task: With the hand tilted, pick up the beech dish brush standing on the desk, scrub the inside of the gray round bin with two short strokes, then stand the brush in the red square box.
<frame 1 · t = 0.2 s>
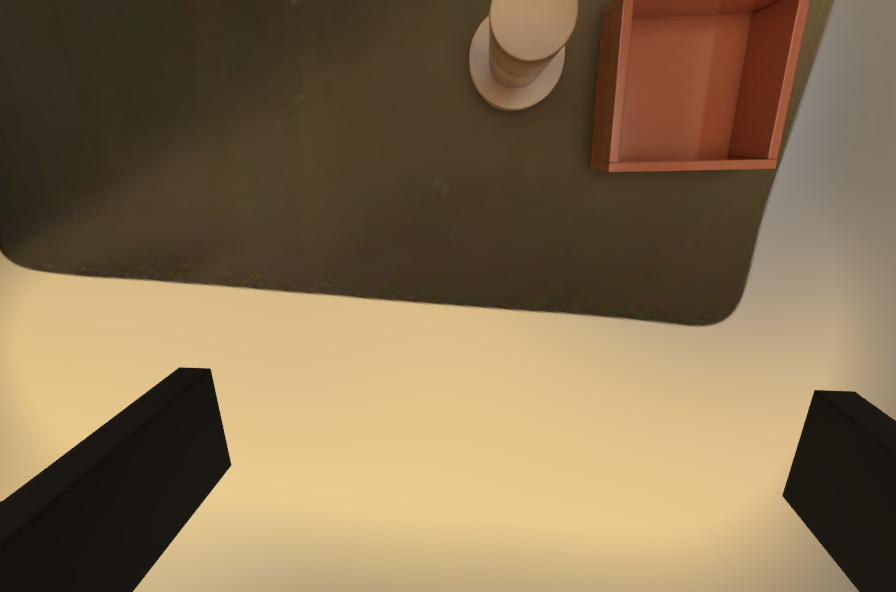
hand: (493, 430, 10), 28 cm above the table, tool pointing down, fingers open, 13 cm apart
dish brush: (513, 66, 32), on the table
red square box: (668, 91, 32), on the table
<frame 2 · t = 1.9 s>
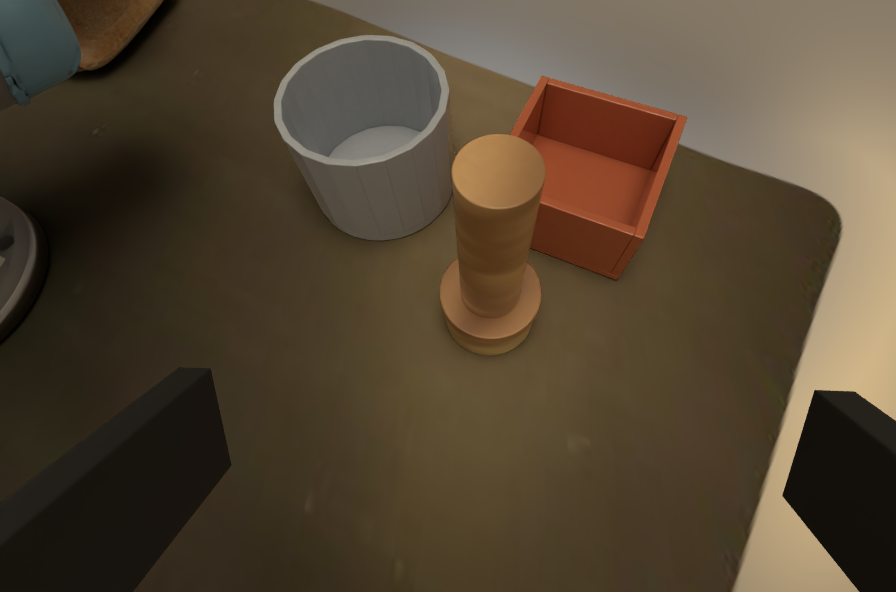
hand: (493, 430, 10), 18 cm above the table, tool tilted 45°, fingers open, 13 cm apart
gray round bin: (385, 181, 36), on the table
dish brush: (488, 313, 31), on the table
red square box: (571, 200, 34), on the table
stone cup: (123, 31, 46), on the table
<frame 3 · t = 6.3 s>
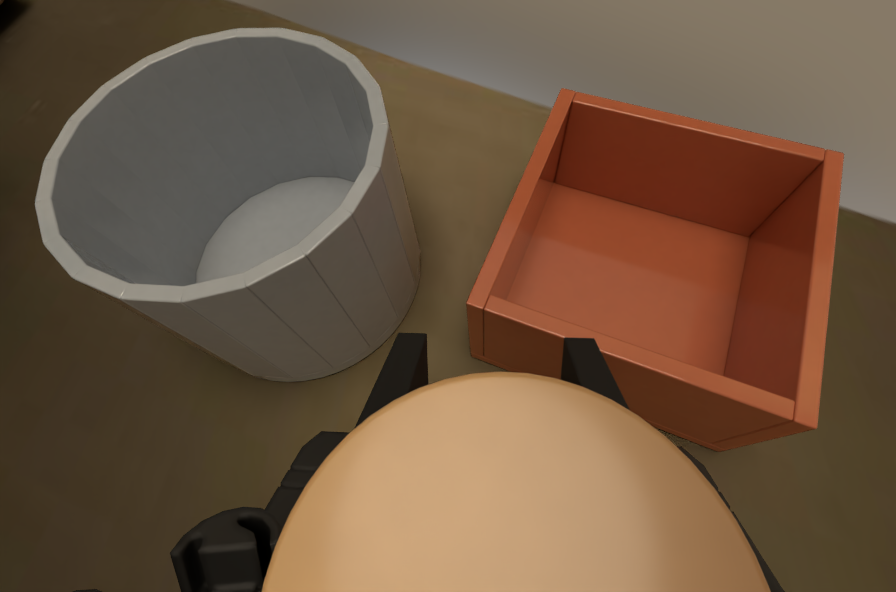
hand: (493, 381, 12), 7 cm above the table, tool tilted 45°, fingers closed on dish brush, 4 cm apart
gray round bin: (308, 270, 22), on the table
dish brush: (488, 530, 17), on the table, touching gripper
red square box: (618, 295, 20), on the table
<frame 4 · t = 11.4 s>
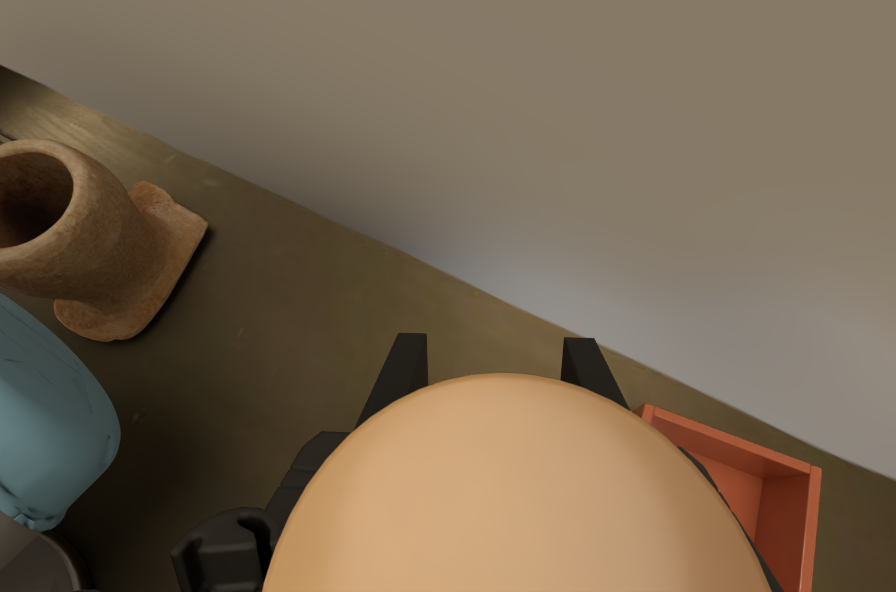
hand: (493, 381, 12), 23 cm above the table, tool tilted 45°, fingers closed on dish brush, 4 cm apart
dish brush: (488, 530, 17), point 17 cm above the table, touching gripper
red square box: (677, 517, 31), on the table
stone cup: (156, 273, 43), on the table
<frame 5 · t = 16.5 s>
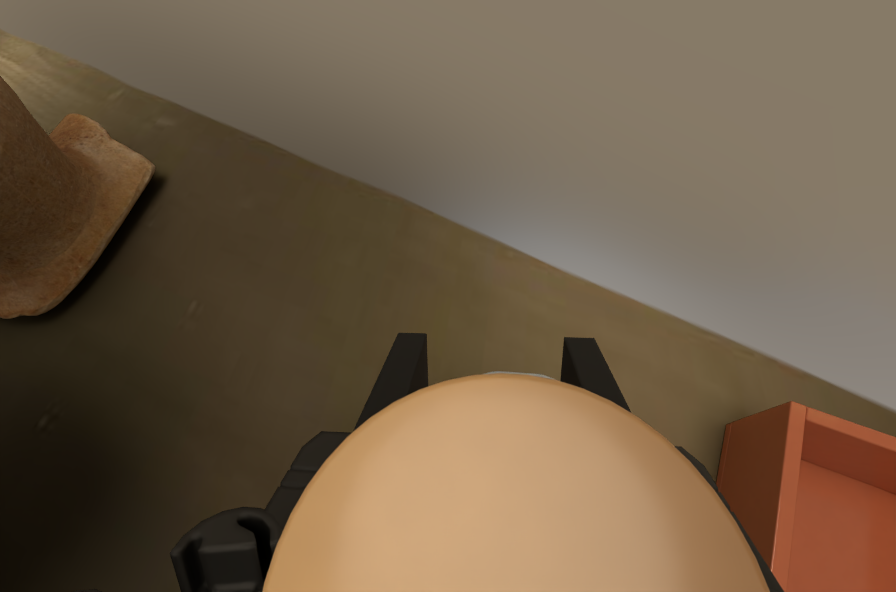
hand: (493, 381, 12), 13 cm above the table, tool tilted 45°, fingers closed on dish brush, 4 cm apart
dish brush: (488, 530, 17), point 6 cm above the table, touching gripper
red square box: (826, 573, 21), on the table
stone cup: (87, 232, 33), on the table
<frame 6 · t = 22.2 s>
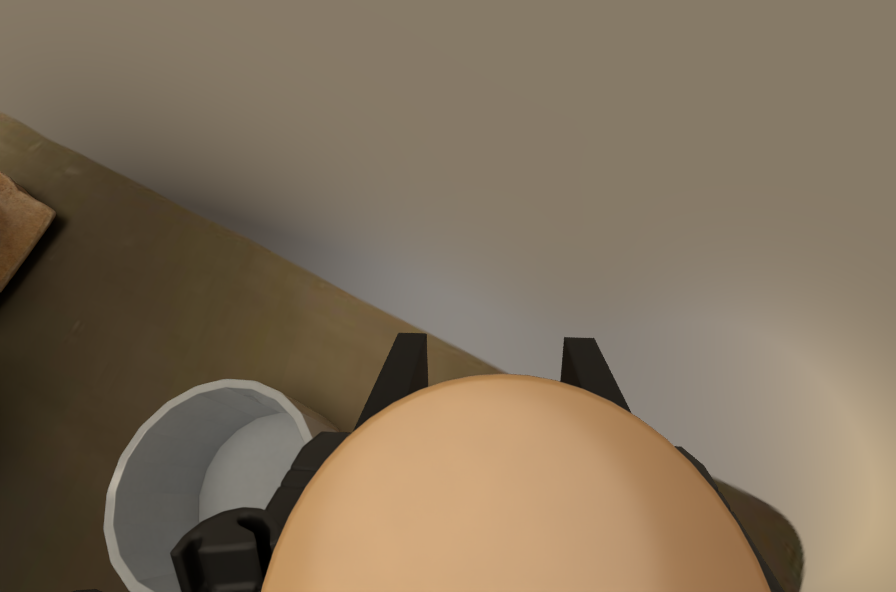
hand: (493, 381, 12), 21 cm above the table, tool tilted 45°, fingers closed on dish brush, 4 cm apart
gray round bin: (278, 489, 31), on the table
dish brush: (488, 530, 17), point 14 cm above the table, touching gripper
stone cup: (1, 264, 41), on the table
when the fingers open (7 cm above the table, at t = 27.0 s): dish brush stays where it is, resting on red square box.
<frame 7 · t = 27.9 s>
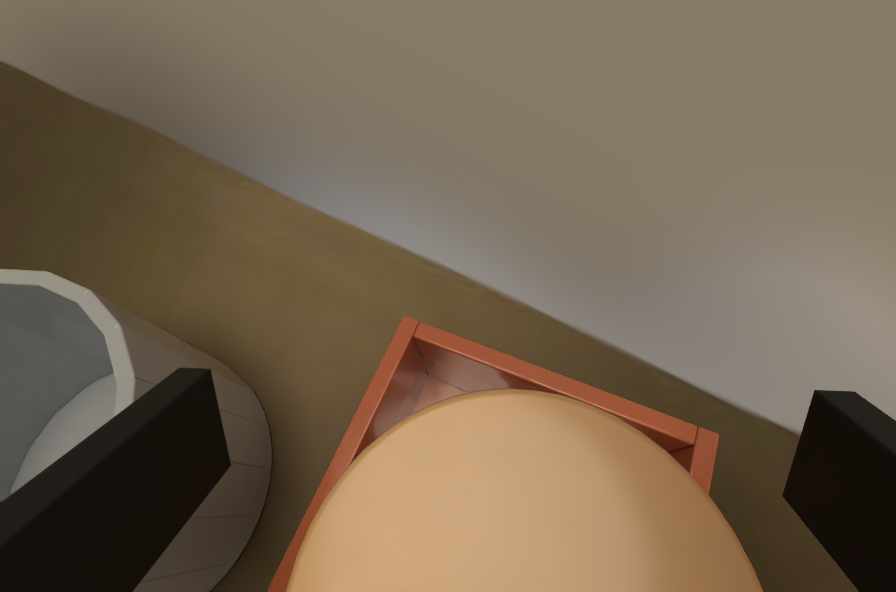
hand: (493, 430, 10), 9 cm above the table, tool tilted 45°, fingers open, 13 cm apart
gray round bin: (144, 479, 19), on the table
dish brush: (491, 532, 17), point 1 cm above the table, touching red square box
red square box: (489, 529, 17), on the table
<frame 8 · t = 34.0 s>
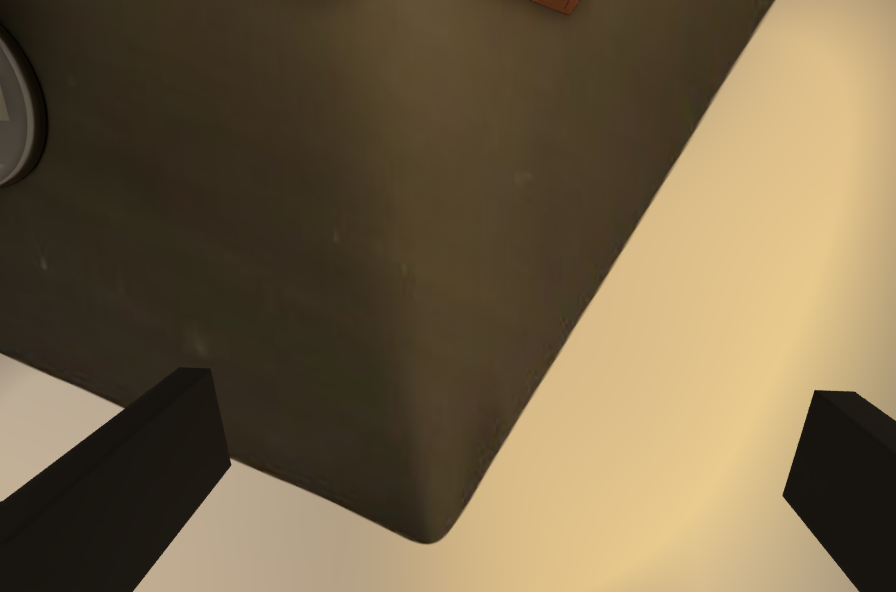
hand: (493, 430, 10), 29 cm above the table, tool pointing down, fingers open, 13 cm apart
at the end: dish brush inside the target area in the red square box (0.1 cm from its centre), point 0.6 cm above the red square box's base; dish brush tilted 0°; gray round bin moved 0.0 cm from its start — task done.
